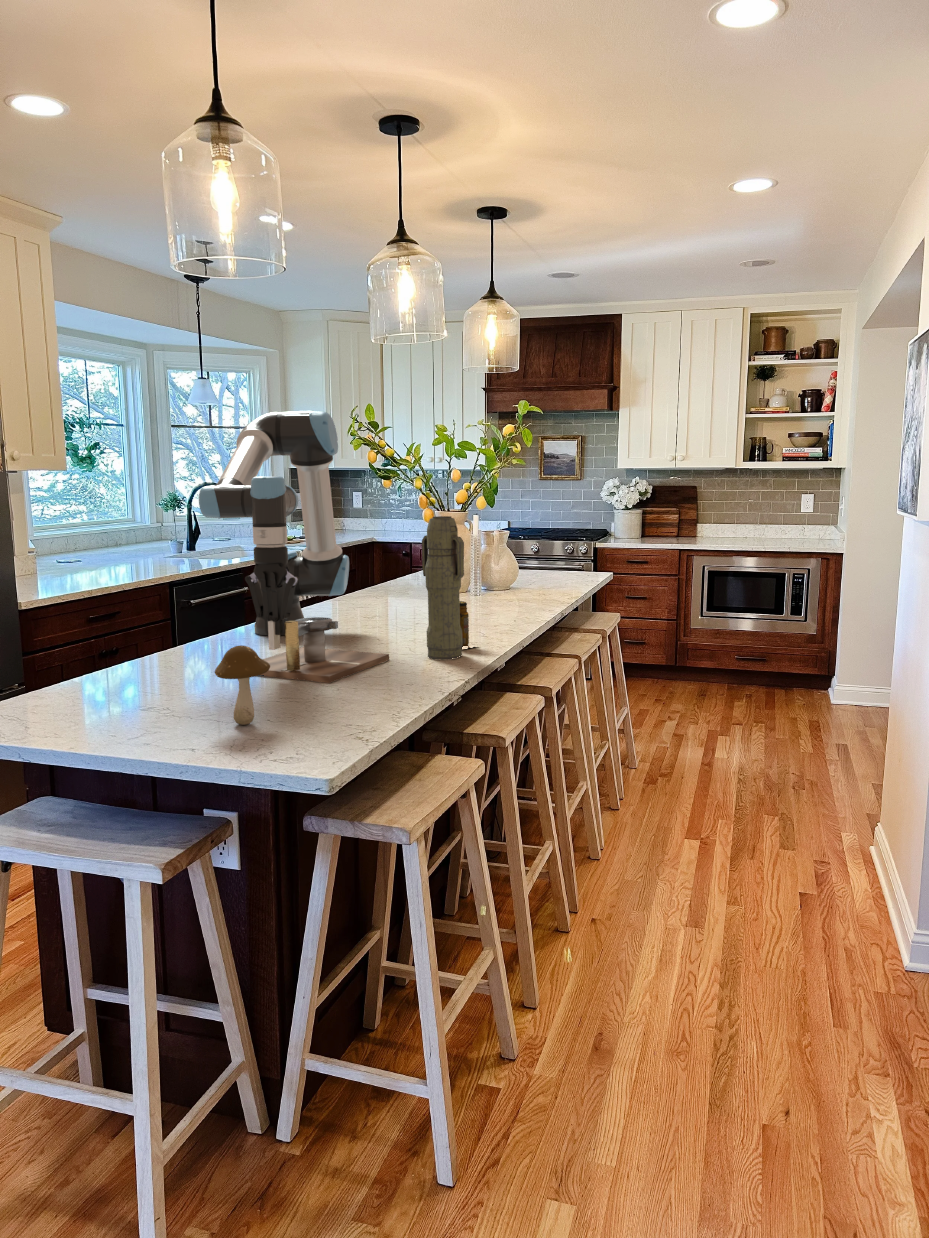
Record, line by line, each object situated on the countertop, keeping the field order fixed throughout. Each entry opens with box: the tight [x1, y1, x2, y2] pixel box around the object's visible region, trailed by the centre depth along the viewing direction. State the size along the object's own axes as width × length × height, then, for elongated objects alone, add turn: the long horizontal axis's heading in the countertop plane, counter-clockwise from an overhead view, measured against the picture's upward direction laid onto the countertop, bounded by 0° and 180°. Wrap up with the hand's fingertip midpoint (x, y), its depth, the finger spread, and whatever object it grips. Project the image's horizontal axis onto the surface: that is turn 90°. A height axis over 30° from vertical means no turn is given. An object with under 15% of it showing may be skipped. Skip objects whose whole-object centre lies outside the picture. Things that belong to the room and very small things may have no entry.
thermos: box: [421, 515, 465, 660], centre depth 220 cm, size 9×12×35 cm
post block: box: [261, 631, 390, 684], centre depth 213 cm, size 26×26×9 cm
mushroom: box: [214, 645, 270, 726], centre depth 165 cm, size 9×11×15 cm
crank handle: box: [284, 616, 339, 671], centre depth 208 cm, size 10×18×11 cm, turn 166°
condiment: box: [460, 600, 470, 647], centre depth 234 cm, size 7×8×12 cm
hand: (274, 648), depth 203 cm, fingers closed
